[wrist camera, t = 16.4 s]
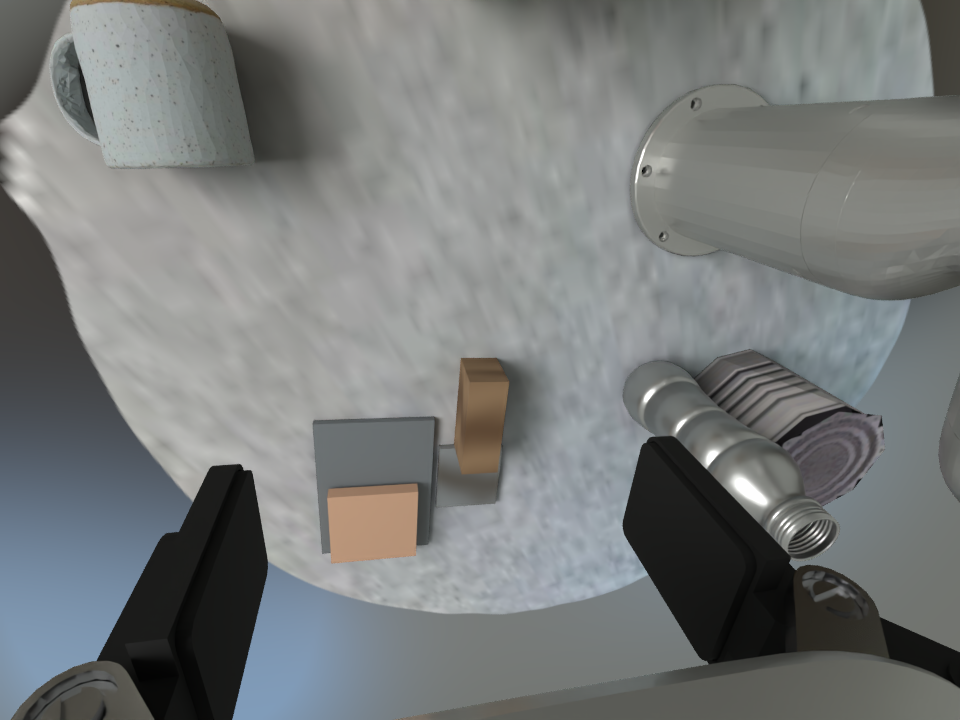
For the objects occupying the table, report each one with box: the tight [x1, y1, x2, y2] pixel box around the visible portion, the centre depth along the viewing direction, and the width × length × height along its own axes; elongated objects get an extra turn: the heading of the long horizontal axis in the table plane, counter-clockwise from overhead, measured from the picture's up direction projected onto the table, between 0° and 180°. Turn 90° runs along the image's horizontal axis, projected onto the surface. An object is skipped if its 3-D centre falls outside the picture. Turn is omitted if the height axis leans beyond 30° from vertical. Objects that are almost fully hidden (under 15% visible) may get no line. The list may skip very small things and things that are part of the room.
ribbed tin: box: [694, 349, 885, 506], centre depth 44 cm, size 11×11×12 cm
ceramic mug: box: [50, 0, 255, 169], centre depth 26 cm, size 11×8×8 cm
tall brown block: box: [436, 358, 509, 508], centre depth 43 cm, size 16×6×4 cm, turn 175°
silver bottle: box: [623, 361, 840, 561], centre depth 38 cm, size 6×7×20 cm
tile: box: [327, 483, 418, 563], centre depth 46 cm, size 8×2×8 cm
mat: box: [313, 417, 435, 554], centre depth 45 cm, size 10×15×1 cm
